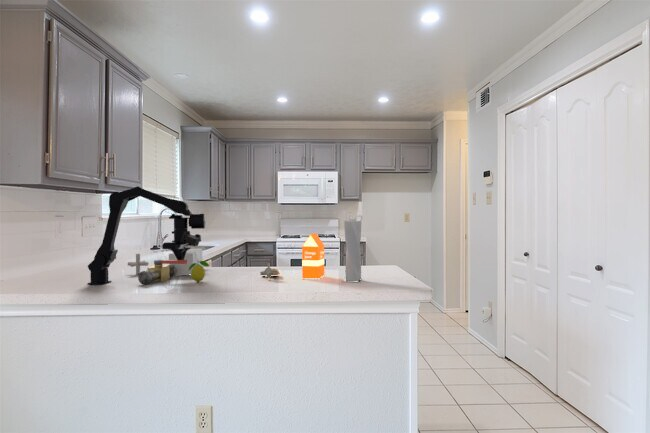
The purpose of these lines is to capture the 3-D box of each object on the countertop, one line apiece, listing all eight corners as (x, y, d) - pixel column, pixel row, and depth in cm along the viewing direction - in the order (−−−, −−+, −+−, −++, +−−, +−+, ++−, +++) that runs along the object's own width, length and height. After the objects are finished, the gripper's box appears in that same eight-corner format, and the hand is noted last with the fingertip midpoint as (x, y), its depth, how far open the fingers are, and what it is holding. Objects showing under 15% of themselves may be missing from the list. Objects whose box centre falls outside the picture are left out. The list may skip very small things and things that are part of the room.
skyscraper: (364, 279, 154) (364, 215, 154) (361, 282, 146) (360, 215, 147) (345, 278, 157) (345, 215, 157) (341, 282, 149) (341, 215, 149)
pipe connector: (153, 272, 182) (153, 252, 182) (141, 275, 172) (141, 254, 172) (135, 272, 183) (134, 252, 183) (122, 275, 173) (121, 254, 173)
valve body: (152, 284, 147) (151, 267, 147) (137, 284, 148) (137, 267, 148) (177, 276, 167) (177, 261, 167) (164, 276, 167) (164, 261, 167)
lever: (152, 264, 156) (152, 260, 156) (157, 263, 159) (157, 259, 159) (183, 264, 154) (183, 260, 154) (188, 263, 158) (187, 259, 158)
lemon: (209, 281, 153) (209, 258, 153) (198, 284, 148) (198, 260, 148) (198, 280, 156) (198, 257, 156) (187, 282, 151) (187, 259, 151)
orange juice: (302, 279, 156) (301, 234, 156) (308, 276, 165) (308, 233, 165) (318, 280, 154) (318, 234, 154) (324, 276, 163) (324, 233, 163)
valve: (276, 279, 153) (254, 281, 155) (284, 281, 165) (264, 282, 167) (276, 262, 155) (254, 264, 157) (284, 264, 167) (263, 266, 169)
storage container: (181, 269, 193) (181, 249, 193) (202, 268, 195) (202, 248, 195) (168, 276, 169) (168, 253, 169) (193, 276, 170) (192, 253, 171)
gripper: (185, 229, 148) (185, 266, 148) (207, 228, 167) (208, 261, 167) (161, 229, 150) (161, 266, 150) (186, 228, 169) (186, 261, 169)
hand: (180, 263), depth 159 cm, fingers closed
